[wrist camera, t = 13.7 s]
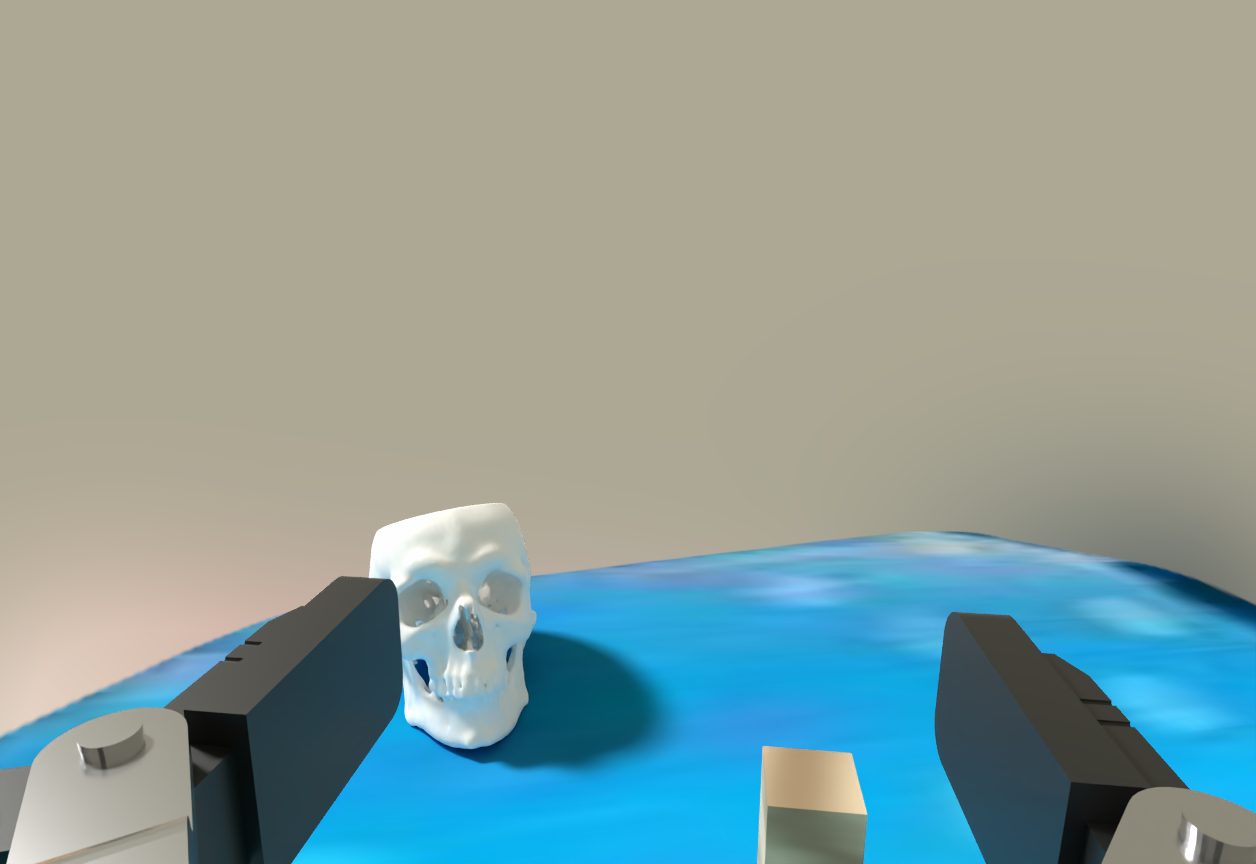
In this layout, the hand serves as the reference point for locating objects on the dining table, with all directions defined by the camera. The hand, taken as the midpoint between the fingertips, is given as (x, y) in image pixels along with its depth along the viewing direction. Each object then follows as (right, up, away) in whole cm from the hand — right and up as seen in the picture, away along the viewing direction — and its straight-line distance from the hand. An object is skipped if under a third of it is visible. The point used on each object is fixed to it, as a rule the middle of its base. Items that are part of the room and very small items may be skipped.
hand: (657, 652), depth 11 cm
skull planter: (-15, -18, +54) cm, 59 cm away
